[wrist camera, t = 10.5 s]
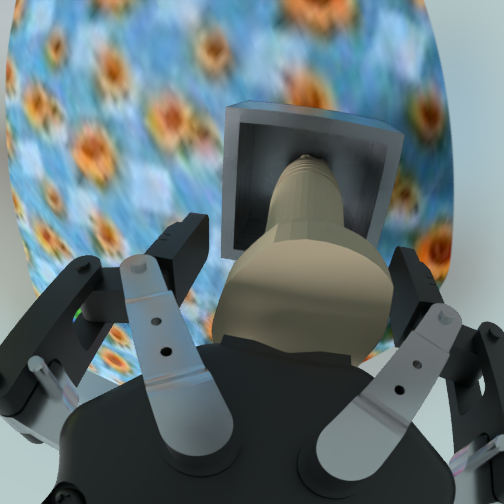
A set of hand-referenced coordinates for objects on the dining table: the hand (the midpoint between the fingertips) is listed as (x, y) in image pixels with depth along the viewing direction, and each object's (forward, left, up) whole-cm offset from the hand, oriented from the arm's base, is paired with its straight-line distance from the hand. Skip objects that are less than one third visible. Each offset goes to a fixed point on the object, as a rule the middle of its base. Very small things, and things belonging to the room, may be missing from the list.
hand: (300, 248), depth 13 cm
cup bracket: (+4, 0, -21) cm, 22 cm away
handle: (0, 0, -10) cm, 10 cm away
